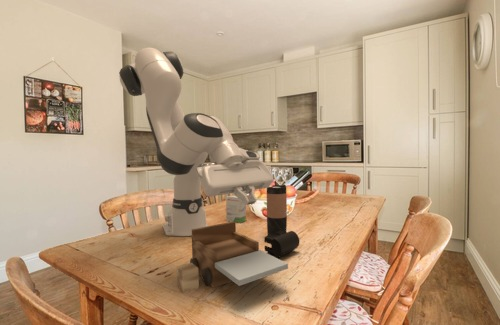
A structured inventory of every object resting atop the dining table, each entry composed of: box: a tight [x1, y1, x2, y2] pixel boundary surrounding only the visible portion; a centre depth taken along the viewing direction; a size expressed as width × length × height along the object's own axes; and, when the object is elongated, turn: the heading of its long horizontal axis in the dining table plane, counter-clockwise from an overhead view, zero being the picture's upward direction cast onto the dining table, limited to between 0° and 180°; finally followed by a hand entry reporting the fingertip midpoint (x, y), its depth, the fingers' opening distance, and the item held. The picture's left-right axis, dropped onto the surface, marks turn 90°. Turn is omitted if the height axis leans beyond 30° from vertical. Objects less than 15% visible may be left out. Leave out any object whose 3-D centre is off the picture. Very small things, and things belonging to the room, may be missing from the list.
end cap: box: [264, 230, 300, 259], centre depth 88 cm, size 10×7×7 cm
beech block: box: [176, 262, 200, 294], centre depth 67 cm, size 4×4×5 cm
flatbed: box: [189, 221, 260, 288], centre depth 76 cm, size 13×16×12 cm
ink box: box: [225, 195, 247, 224], centre depth 129 cm, size 9×5×12 cm, turn 58°
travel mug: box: [266, 184, 288, 236], centre depth 103 cm, size 8×8×20 cm
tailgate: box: [215, 249, 289, 287], centre depth 65 cm, size 2×14×11 cm
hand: (251, 203), depth 67 cm, fingers closed
